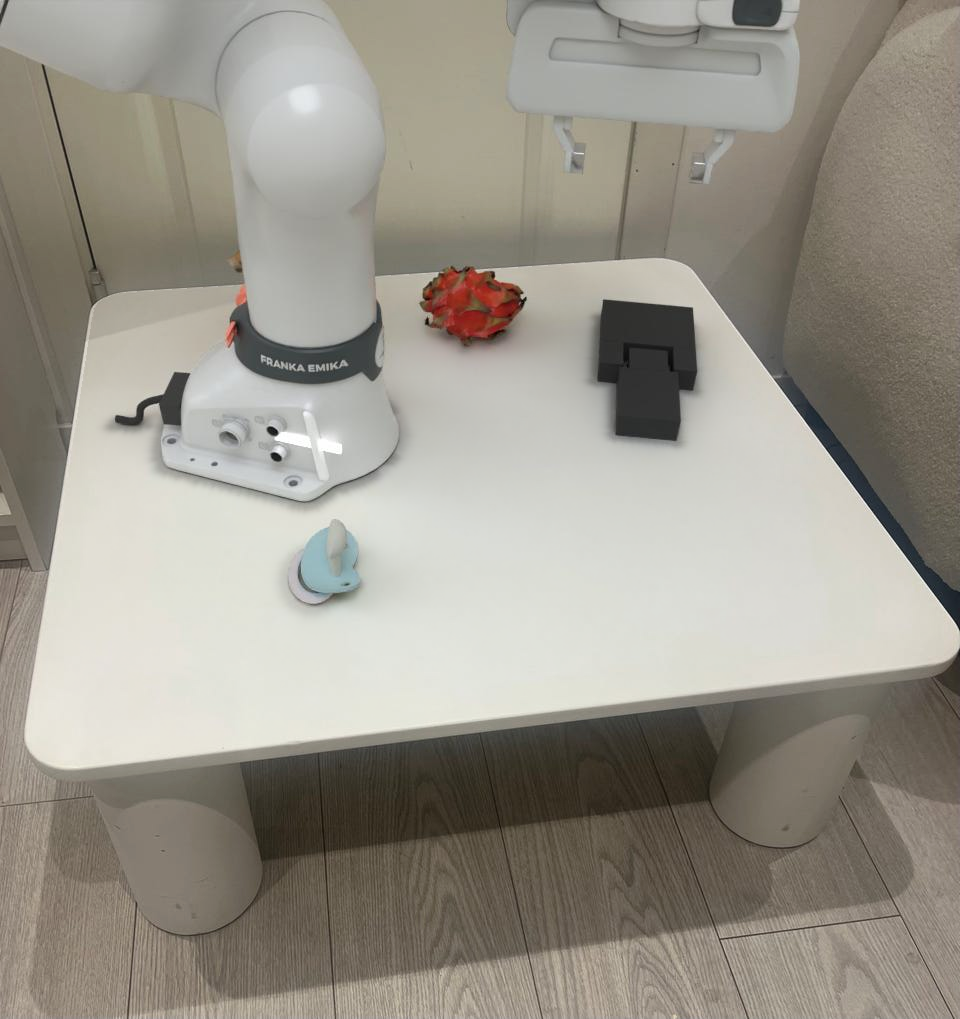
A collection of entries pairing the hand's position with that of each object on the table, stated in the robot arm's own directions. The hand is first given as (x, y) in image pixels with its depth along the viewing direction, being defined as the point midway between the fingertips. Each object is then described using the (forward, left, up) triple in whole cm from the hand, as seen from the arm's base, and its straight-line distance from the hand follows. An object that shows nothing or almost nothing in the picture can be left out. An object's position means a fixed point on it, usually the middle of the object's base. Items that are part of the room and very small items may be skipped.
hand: (635, 175), depth 77 cm
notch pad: (+5, +19, -29) cm, 35 cm away
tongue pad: (+5, +10, -29) cm, 31 cm away
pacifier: (-22, -18, -29) cm, 41 cm away
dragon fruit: (-14, +20, -29) cm, 38 cm away
